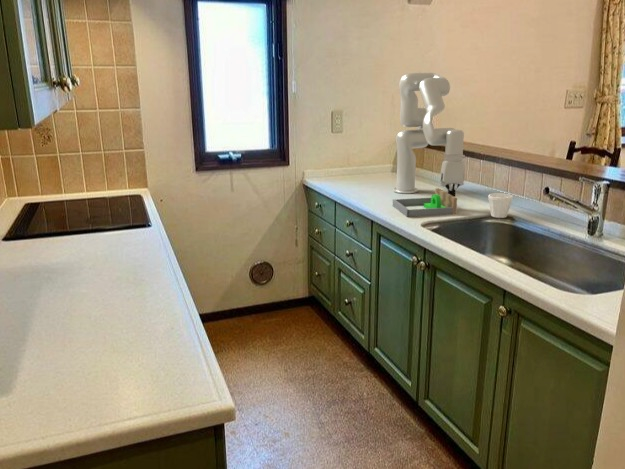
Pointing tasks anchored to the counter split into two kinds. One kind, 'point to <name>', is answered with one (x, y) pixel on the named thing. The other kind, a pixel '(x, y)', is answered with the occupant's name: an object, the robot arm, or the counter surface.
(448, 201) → the gate
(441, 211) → the grey tray
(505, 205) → the cup
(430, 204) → the mechanical part
